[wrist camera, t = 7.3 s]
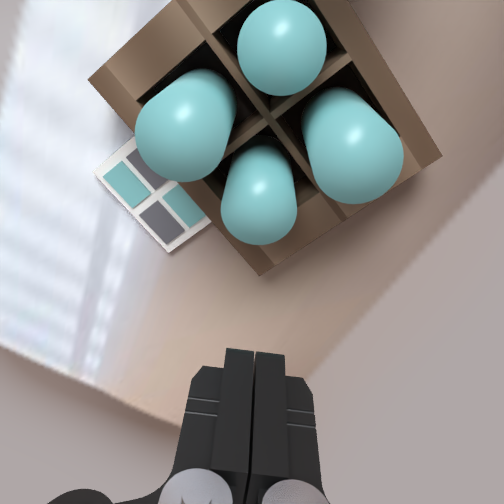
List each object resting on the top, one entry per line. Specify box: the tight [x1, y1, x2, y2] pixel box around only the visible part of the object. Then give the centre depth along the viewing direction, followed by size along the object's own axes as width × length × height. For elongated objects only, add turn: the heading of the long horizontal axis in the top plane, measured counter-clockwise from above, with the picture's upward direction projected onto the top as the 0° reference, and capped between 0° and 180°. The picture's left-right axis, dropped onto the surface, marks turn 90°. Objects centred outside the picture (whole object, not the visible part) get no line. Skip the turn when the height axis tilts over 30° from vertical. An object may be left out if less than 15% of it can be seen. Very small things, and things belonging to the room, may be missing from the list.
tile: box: [92, 136, 212, 253], centre depth 30 cm, size 4×7×1 cm, turn 38°
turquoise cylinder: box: [301, 87, 404, 204], centre depth 22 cm, size 4×4×8 cm
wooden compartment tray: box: [88, 0, 442, 276], centre depth 26 cm, size 12×14×4 cm
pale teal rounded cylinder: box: [135, 68, 237, 182], centre depth 22 cm, size 4×4×8 cm
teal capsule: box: [237, 0, 326, 96], centre depth 23 cm, size 4×4×8 cm
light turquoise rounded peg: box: [221, 135, 297, 245], centre depth 26 cm, size 4×4×8 cm
